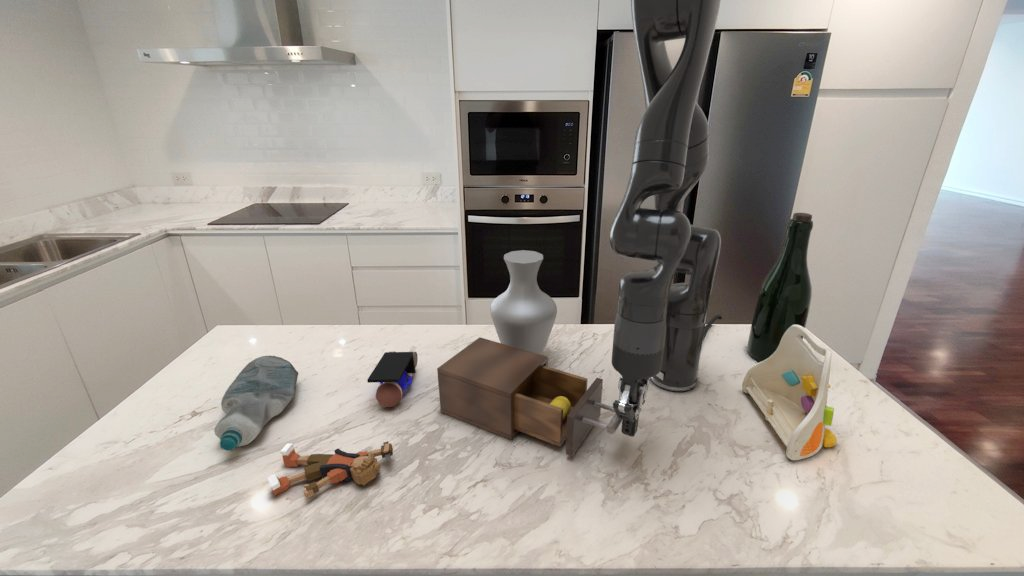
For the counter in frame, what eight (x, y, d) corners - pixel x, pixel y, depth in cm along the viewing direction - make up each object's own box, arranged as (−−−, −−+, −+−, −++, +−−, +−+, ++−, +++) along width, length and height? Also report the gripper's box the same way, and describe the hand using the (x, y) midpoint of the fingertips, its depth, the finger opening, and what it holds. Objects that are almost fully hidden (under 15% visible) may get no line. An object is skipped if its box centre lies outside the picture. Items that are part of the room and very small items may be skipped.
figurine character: (390, 376, 106) (369, 411, 92) (387, 344, 104) (365, 375, 90) (420, 376, 106) (403, 412, 91) (418, 344, 104) (400, 375, 89)
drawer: (630, 425, 86) (634, 388, 83) (605, 470, 76) (608, 429, 73) (531, 392, 96) (531, 358, 93) (497, 428, 86) (496, 390, 83)
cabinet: (547, 399, 95) (548, 356, 91) (511, 440, 84) (510, 393, 80) (481, 377, 103) (479, 336, 99) (440, 412, 92) (436, 368, 88)
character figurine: (297, 430, 82) (395, 429, 79) (305, 452, 84) (401, 453, 81) (252, 482, 71) (364, 484, 68) (263, 507, 73) (372, 510, 70)
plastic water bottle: (244, 381, 102) (184, 463, 79) (240, 351, 99) (176, 427, 76) (309, 381, 104) (269, 461, 81) (306, 352, 101) (264, 426, 78)
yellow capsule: (558, 432, 83) (558, 415, 81) (539, 426, 84) (539, 409, 83) (574, 412, 88) (574, 395, 87) (556, 406, 90) (556, 390, 88)
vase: (516, 339, 118) (515, 241, 109) (567, 356, 110) (571, 252, 101) (479, 364, 107) (474, 259, 98) (532, 385, 100) (533, 273, 90)
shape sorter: (852, 463, 78) (883, 370, 71) (785, 461, 79) (810, 368, 72) (793, 392, 96) (813, 312, 89) (739, 391, 97) (755, 312, 90)
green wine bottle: (802, 353, 110) (837, 212, 97) (791, 373, 103) (828, 223, 90) (753, 339, 116) (781, 205, 104) (739, 357, 109) (767, 214, 96)
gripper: (651, 366, 65) (639, 466, 72) (674, 327, 76) (662, 417, 82) (599, 353, 69) (592, 449, 75) (628, 317, 79) (620, 404, 86)
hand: (629, 432), depth 79 cm, fingers closed
